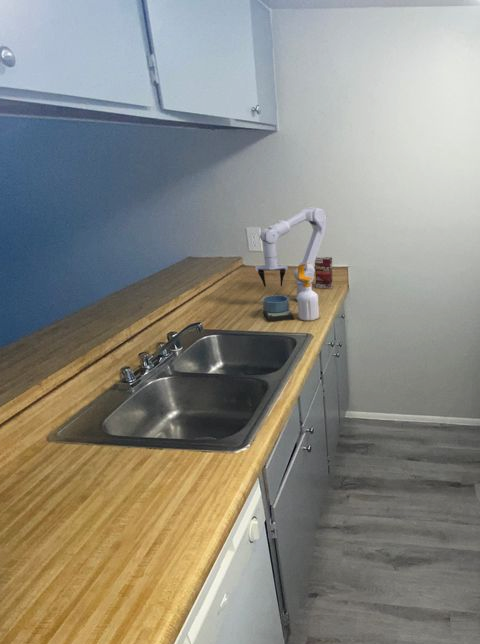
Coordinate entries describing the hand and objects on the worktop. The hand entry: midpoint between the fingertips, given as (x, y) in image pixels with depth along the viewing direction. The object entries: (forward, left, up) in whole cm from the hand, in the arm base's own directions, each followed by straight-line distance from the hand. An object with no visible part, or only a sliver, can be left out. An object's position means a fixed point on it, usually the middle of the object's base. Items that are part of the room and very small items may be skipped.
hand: (273, 285), depth 222 cm
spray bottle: (+22, +11, -10) cm, 27 cm away
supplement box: (-24, +32, -10) cm, 41 cm away
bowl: (+14, -2, -7) cm, 15 cm away
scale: (+15, -2, -10) cm, 18 cm away
